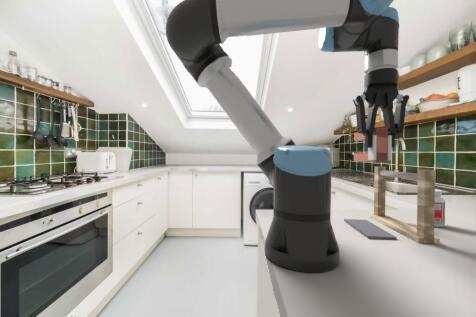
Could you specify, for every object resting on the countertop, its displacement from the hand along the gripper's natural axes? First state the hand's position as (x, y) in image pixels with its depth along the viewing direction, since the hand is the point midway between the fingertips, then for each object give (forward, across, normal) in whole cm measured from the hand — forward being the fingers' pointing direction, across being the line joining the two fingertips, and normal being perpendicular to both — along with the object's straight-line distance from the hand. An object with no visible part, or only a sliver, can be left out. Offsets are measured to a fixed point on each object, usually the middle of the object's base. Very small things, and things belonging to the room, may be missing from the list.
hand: (379, 160), depth 59 cm
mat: (+20, 0, -6) cm, 21 cm away
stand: (+20, -10, -8) cm, 24 cm away
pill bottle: (+21, -23, -13) cm, 34 cm away
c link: (+1, 0, -5) cm, 6 cm away
